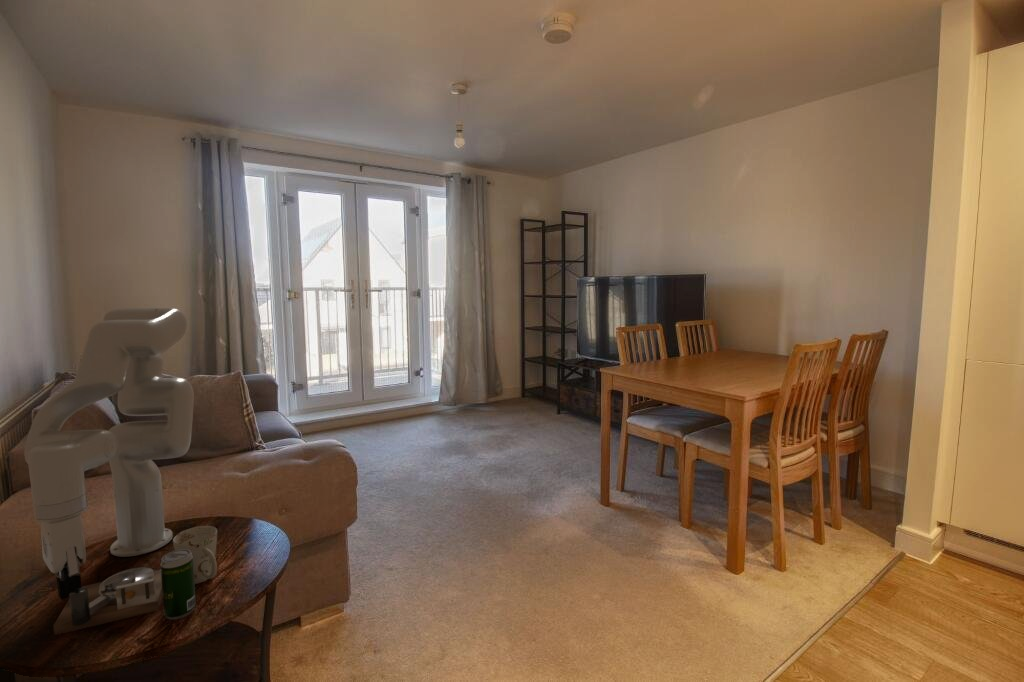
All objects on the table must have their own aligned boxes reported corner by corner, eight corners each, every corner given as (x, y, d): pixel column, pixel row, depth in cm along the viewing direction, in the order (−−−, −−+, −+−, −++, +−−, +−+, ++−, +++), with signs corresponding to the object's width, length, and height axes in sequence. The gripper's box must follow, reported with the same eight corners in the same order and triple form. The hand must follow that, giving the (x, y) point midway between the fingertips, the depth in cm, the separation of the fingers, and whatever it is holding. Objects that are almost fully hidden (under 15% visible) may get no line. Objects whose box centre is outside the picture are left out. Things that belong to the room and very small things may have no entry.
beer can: (201, 602, 102) (197, 547, 100) (187, 620, 96) (183, 562, 95) (174, 604, 101) (170, 549, 100) (158, 621, 96) (153, 563, 94)
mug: (207, 562, 116) (204, 522, 115) (238, 578, 110) (235, 536, 109) (168, 580, 109) (165, 538, 108) (199, 598, 103) (196, 554, 102)
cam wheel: (129, 575, 107) (127, 549, 106) (165, 580, 106) (163, 553, 105) (54, 623, 92) (51, 593, 91) (95, 628, 91) (92, 598, 90)
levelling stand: (76, 596, 103) (74, 567, 102) (168, 576, 111) (166, 549, 110) (53, 637, 91) (49, 605, 90) (157, 612, 98) (155, 582, 98)
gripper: (26, 502, 95) (36, 589, 98) (42, 525, 86) (53, 621, 89) (76, 489, 101) (84, 572, 104) (97, 510, 92) (105, 600, 95)
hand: (70, 594), depth 96 cm, fingers closed
